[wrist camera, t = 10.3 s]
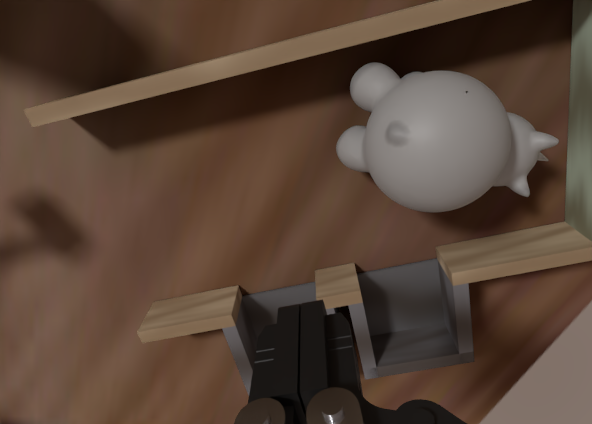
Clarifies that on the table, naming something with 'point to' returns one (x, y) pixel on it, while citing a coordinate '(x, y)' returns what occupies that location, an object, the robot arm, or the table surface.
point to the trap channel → (389, 281)
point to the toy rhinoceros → (437, 138)
